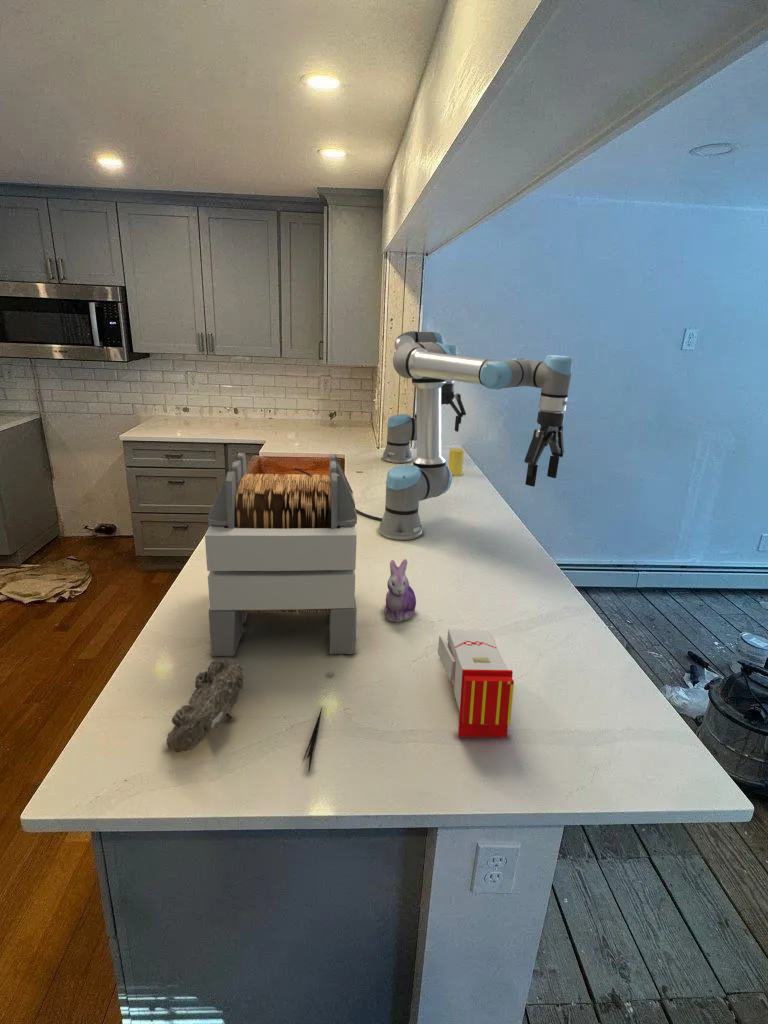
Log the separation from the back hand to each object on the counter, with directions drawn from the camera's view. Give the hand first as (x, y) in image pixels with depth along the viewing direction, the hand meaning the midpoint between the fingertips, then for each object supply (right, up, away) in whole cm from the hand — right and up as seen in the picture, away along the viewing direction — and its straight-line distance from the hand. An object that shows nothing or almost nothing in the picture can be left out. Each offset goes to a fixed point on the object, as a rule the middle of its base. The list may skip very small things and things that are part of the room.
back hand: (442, 431), depth 250 cm
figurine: (-22, -62, -103) cm, 122 cm away
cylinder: (+9, -17, +27) cm, 33 cm away
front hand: (+22, -26, -79) cm, 86 cm away
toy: (-8, -73, -132) cm, 151 cm away
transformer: (-50, -63, -107) cm, 134 cm away
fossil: (-58, -75, -142) cm, 171 cm away
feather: (-38, -76, -142) cm, 165 cm away
